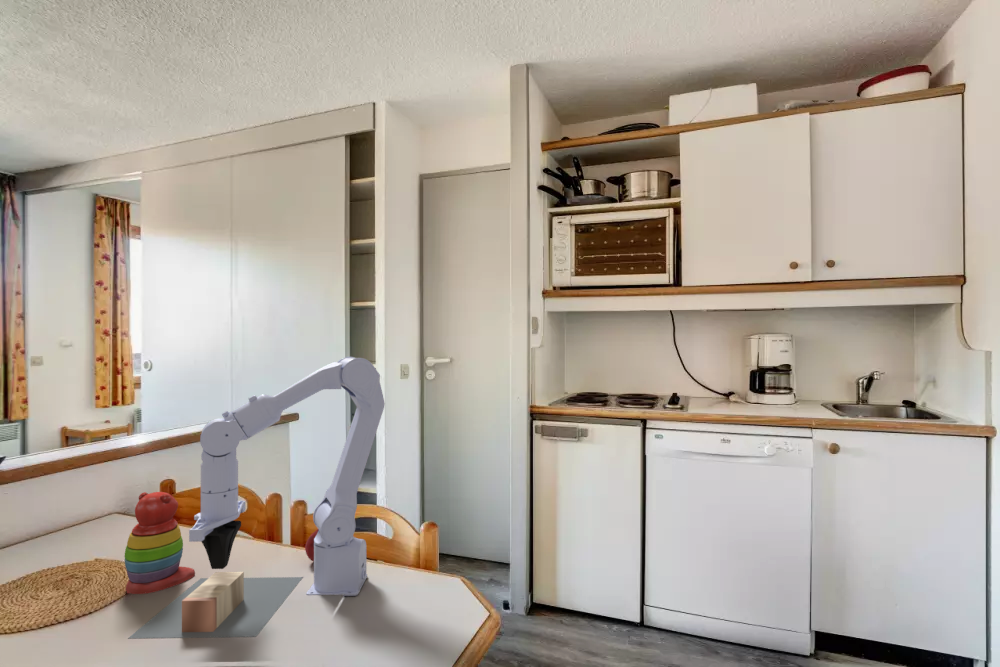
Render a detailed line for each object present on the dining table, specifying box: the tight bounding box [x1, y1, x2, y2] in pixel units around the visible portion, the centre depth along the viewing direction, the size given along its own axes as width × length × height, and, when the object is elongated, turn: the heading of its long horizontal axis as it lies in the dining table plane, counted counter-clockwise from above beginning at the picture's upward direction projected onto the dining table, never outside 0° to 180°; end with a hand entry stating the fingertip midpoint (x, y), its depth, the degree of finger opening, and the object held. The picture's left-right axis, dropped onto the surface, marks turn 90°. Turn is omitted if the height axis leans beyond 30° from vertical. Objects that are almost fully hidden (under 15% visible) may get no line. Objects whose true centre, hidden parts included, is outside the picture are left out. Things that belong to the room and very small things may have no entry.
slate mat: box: [127, 576, 304, 640], centre depth 90 cm, size 20×20×1 cm
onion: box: [304, 527, 319, 563], centre depth 107 cm, size 6×6×8 cm
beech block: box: [182, 571, 245, 632], centre depth 86 cm, size 5×5×10 cm
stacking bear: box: [124, 491, 196, 595], centre depth 99 cm, size 11×10×18 cm
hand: (219, 567), depth 88 cm, fingers closed
